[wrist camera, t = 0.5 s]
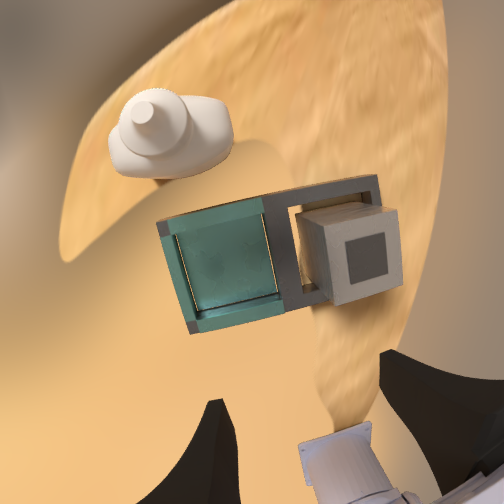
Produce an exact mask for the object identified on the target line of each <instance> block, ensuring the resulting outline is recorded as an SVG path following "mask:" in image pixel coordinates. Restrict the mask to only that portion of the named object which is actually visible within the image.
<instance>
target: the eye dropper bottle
mask: <svg viewBox="0 0 504 504" xmlns="http://www.w3.org/2000/svg"><path fill="white" fill-rule="evenodd" d="M119 120H120V121H119V122H118V124H117V125H116V126H115V127H114V129H113V130H112V131H111V133H110V135H109V140H108V143H109V150H110V155H111V160H112V163H113V166H114V168H115V170H116V172H118V173H120V174H121V175H123V176H128V177H135V178H151V179H179V178H185V177H190V176H194V175H197V174H200V173H202V172H205V171H207V170H209V169H211V168H212V167H215V166H216V165H218V164H219V163H221V162H222V161H224V160H225V159H226V158H227V157H228V155H229V153H230V150H231V148H232V145H233V138H234V133H233V128H232V123H231V119H230V115H229V112H228V108H227V107H226V105H225V104H224V103H223V102H222V101H220V100H218V99H214V98H209V97H203V96H177V94H174V92H171V90H167V89H165V90H164V88H162V89H160V88H158V89H157V88H155V89H153V88H152V89H148V90H144V91H141V92H140V93H138V94H137V95H135V96H134V97H132V99H130V100H129V102H127V104H126V105H125V106H124V108H123V111H122V112H121V115H120V118H119Z"/></svg>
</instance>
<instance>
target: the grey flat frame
mask: <svg viewBox="0 0 504 504" xmlns="http://www.w3.org/2000/svg"><path fill="white" fill-rule="evenodd" d="M359 192H361V194H362V200H363V203H366V204H371V205H376V206H381V207H382V204H381V197H380V190H379V184H378V178H377V174H367V175H361V176H356V177H350V178H344V179H339V180H333V181H328V182H323V183H318V184H312V185H307V186H302V187H297V188H293V189H288V190H283V191H278V192H274V193H269V194H264V195H260V196H255V197H251V198H246V199H242V200H237V201H233V202H229V203H225V204H220V205H216V206H212V207H208V208H204V209H200V210H196V211H192V212H188V213H184V214H180V215H176V216H172V217H168V218H164V219H161V220H159V221H158V222H156V225H157V228H158V232H159V236H160V240H161V243H162V247H163V250H164V254H165V257H166V261H167V264H168V268H169V271H170V274H171V278H172V281H173V284H174V288H175V291H176V294H177V297H178V300H179V303H180V306H181V309H182V313H183V316H184V319H185V321H186V325H187V328H188V330H189V333H190V335H191V334H195V333H204V332H208V331H213V330H218V329H222V328H227V327H230V326H235V325H240V324H244V323H248V322H252V321H256V320H260V319H265V318H268V317H272V316H276V315H280V314H284V313H285V312H288V311H292V310H296V309H300V308H304V307H307V306H311V305H315V304H318V303H322V302H325V301H329V299H328V298H327V297H326V296H325V295H324V294H323V293H322V292H321V290H320V289H319V288H318V287H317V286H316V285H315V284H314V283H311V284H307V285H303V286H302V283H301V278H300V272H299V266H298V261H297V255H296V250H295V245H294V239H293V234H292V229H291V224H290V218H289V214H288V208H287V207H291V206H296V205H301V204H306V203H310V202H315V201H320V200H325V199H329V198H334V197H339V196H344V195H349V194H354V193H359ZM261 213H262V217H263V221H264V226H265V231H266V236H267V241H268V245H269V250H270V255H271V259H272V264H273V269H274V274H275V278H276V284H277V289H278V292H277V289H276V285H275V280H274V275H273V270H272V265H271V260H270V256H269V251H268V246H267V241H266V237H265V232H264V227H263V223H262V218H261ZM175 234H176V235H177V239H178V242H179V246H180V249H181V254H182V257H183V261H184V264H185V268H186V271H187V275H188V278H189V281H190V285H191V288H192V292H193V295H194V298H193V295H192V292H191V288H190V285H189V282H188V279H187V275H186V271H185V268H184V264H183V261H182V257H181V254H180V250H179V246H178V243H177V239H176V235H175ZM275 292H276V293H275ZM271 293H272V294H271ZM267 294H268V295H267ZM263 295H264V296H263ZM259 296H260V297H259ZM255 297H256V298H255ZM251 298H252V299H251ZM194 299H195V302H196V305H197V308H198V311H197V308H196V305H195V302H194ZM242 300H243V301H242ZM238 301H239V302H238ZM234 302H235V303H234ZM230 303H231V304H230ZM225 304H226V305H225ZM221 305H222V306H221ZM217 306H218V307H217ZM212 307H213V308H212ZM208 308H209V309H208ZM203 309H204V310H203ZM199 310H200V311H199Z"/></svg>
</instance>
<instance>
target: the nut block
mask: <svg viewBox="0 0 504 504" xmlns="http://www.w3.org/2000/svg"><path fill="white" fill-rule="evenodd" d="M295 217H296V222H297V228H298V233H299V238H300V243H301V249H302V255H303V260H304V266H305V272H306V275H307V276H308V277H309V278H310V280H311V281H312V282H313V283H314V284H315V285H316V286H317V287H318V288H319V289H320V290H321V292H322V293H323V294H324V295H325V296H326V297H327V298H328V299H329V300H330V301H331V303H332V304H333V305H334V306H339V305H342V304H345V303H348V302H352V301H355V300H358V299H361V298H365V297H368V296H371V295H374V294H377V293H380V292H383V291H386V290H389V289H392V288H395V287H398V286H401V285H403V273H402V256H401V243H400V232H399V222H398V213H397V209H392V208H387V207H381V206H376V205H371V204H366V203H360V202H354V201H352V202H347V203H343V204H338V205H333V206H329V207H324V208H319V209H315V210H310V211H306V212H301V213H296V214H295Z"/></svg>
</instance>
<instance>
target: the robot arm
mask: <svg viewBox="0 0 504 504" xmlns="http://www.w3.org/2000/svg"><path fill="white" fill-rule="evenodd" d="M379 386H380V388H381V390H382V392H383V394H384V396H385V397H386V399H387V401H388V402H389V404H390V405H391V407H392V408H393V409H394V411H395V412H396V413H397V415H398V416H399V417H400V418H401V420H402V421H403V422H404V424H405V425H406V426H407V428H408V429H409V430H410V432H411V433H412V435H413V436H414V438H415V439H416V441H417V442H418V444H419V446H420V448H421V450H422V452H423V453H424V455H425V457H426V459H427V461H428V463H429V465H430V467H431V470H432V472H433V474H434V476H435V478H436V481H437V483H438V486H439V488H440V491H441V494H442V497H441V498H439V499H437V500H436V501H434V502H432V503H430V504H504V380H486V379H477V378H470V377H464V376H460V375H456V374H452V373H448V372H445V371H442V370H439V369H436V368H434V367H431V366H428V365H426V364H424V363H421V362H419V361H416V360H414V359H412V358H410V357H408V356H406V355H403V354H401V353H399V352H397V351H395V350H392V349H390V350H387V351H385V352H382V353H380V380H379ZM371 429H372V424H371V422H370V421H366V422H363V423H361V424H358V425H355V426H353V427H350V428H347V429H344V430H341V431H338V432H335V433H332V434H329V435H326V436H323V437H320V438H316V439H313V440H309V441H306V442H303V443H300V444H299V445H298V449H299V454H300V458H301V463H302V468H303V472H304V477H305V481H306V485H307V486H312V485H313V488H314V491H315V494H316V497H317V500H318V503H319V504H423V503H422V502H421V500H420V499H419V497H418V496H417V495H416V494H414V493H409V492H404V493H402V494H400V492H399V490H398V489H397V488H393V487H392V485H391V483H390V481H389V479H388V478H387V476H386V474H385V472H384V470H383V469H382V467H381V465H380V463H379V461H378V460H377V458H376V456H375V454H374V452H373V451H372V449H371V447H370V443H371ZM137 504H241V500H240V494H239V476H238V447H237V441H236V435H235V429H234V426H233V424H232V421H231V419H230V416H229V414H228V411H227V408H226V406H225V403H224V401H223V399H217V400H211V401H209V402H208V403H207V405H206V408H205V411H204V414H203V416H202V418H201V421H200V423H199V426H198V428H197V430H196V432H195V434H194V436H193V438H192V440H191V442H190V443H189V445H188V447H187V449H186V450H185V452H184V454H183V455H182V457H181V458H180V460H179V461H178V463H177V464H176V465H175V467H174V468H173V469H172V470H171V472H170V473H169V474H168V476H167V477H166V478H165V479H164V480H163V481H162V482H161V483H160V484H159V485H158V486H157V487H156V488H155V489H154V490H153V491H152V492H150V493H149V494H148V495H147V496H146V497H145V498H143V499H142V500H141V501H139V502H138V503H137Z"/></svg>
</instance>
